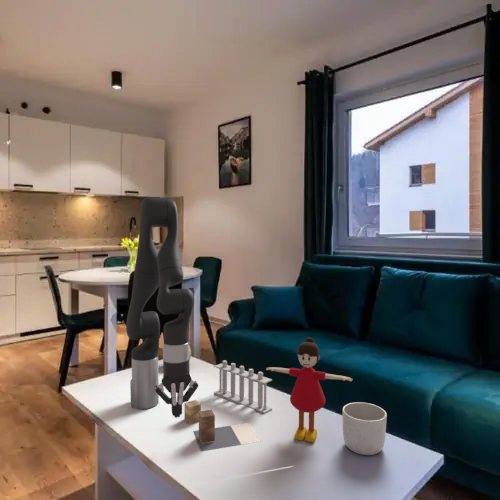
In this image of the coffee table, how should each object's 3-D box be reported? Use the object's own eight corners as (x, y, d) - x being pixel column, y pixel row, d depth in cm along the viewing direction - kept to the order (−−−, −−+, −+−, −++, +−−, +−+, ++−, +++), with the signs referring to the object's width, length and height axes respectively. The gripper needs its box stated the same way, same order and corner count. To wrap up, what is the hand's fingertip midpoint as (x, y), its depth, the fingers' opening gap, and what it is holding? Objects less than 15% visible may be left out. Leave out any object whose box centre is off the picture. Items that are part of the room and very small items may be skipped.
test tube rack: (272, 410, 147) (272, 373, 146) (264, 414, 144) (264, 376, 143) (222, 390, 164) (222, 357, 163) (213, 394, 160) (213, 360, 159)
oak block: (189, 425, 136) (189, 407, 135) (184, 420, 139) (184, 402, 139) (200, 422, 138) (200, 404, 137) (195, 417, 141) (195, 399, 141)
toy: (260, 435, 129) (261, 339, 127) (271, 419, 140) (272, 330, 138) (349, 452, 120) (351, 349, 118) (353, 434, 130) (355, 339, 128)
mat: (200, 452, 120) (200, 451, 119) (193, 432, 131) (193, 431, 131) (260, 442, 125) (260, 441, 125) (248, 424, 136) (248, 422, 136)
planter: (340, 455, 118) (341, 418, 118) (342, 434, 130) (343, 400, 130) (386, 462, 115) (387, 423, 114) (384, 440, 127) (385, 404, 126)
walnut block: (201, 443, 124) (201, 417, 123) (198, 437, 127) (198, 411, 127) (214, 441, 125) (214, 415, 124) (211, 435, 129) (211, 409, 128)
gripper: (154, 364, 116) (155, 425, 117) (201, 359, 120) (202, 418, 121) (151, 356, 123) (152, 414, 124) (196, 351, 127) (196, 407, 128)
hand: (177, 416), depth 123 cm, fingers closed
